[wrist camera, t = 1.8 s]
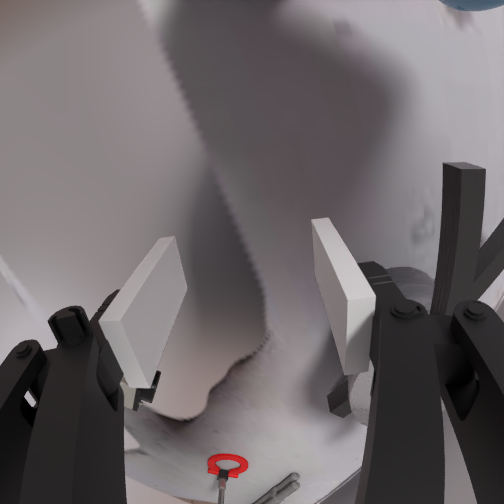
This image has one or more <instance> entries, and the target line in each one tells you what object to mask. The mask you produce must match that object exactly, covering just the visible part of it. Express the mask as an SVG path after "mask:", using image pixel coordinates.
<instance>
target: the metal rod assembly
mask: <svg viewBox="0 0 504 504" xmlns="http://www.w3.org/2000/svg"><path fill="white" fill-rule="evenodd" d="M299 478H300V476H299V474H297V473H293V474H291V475H290V476H289V477H288V478H287V479H285V480H284V481H283V482H282V483H280V484H279V485H276V486H275V487H273V488H272V489H271V491H270V492H269V493H267V494H266V495H265V496H263V497H262V498H261V499H259V500H258V501H257V502H255V503H254V504H279V503H281V502H282V501H283V500H284V499H285V498H286V497H287V496H289V495H290V494H292V493H293V492H294V491H296V490H297V489H298V488H300V483H299V482H297V480H298V479H299Z"/></svg>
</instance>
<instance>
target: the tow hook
mask: <svg viewBox="0 0 504 504" xmlns="http://www.w3.org/2000/svg"><path fill="white" fill-rule="evenodd" d="M219 460H233V461H236V462H238V463H240V465H241V466H240V467H239V468H236V469H231V470H230V471H228V470H222V469H220V467H218V466H217V465H216V464H215V463H216V462H217V461H219ZM208 466H209V468H208V473H211V474H216V475H218V476H217V480H219V483H218V489H219V496H218V504H224V492H225V489H226V482H227V480H228V477H233V478H238V474H239V473H242V472H244V471H246V470H247V468H248V462H247V460H246V459H244V458H243V457H240V456H237V455H233V454H217V455H214V456H212V457H210V458H209V460H208Z"/></svg>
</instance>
